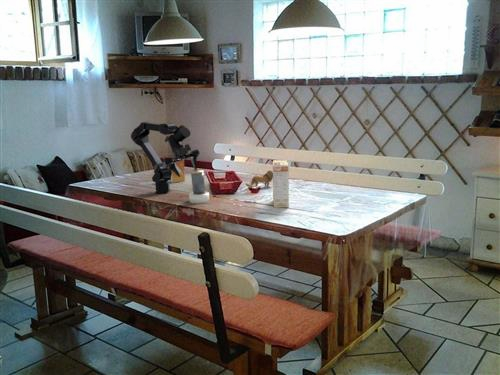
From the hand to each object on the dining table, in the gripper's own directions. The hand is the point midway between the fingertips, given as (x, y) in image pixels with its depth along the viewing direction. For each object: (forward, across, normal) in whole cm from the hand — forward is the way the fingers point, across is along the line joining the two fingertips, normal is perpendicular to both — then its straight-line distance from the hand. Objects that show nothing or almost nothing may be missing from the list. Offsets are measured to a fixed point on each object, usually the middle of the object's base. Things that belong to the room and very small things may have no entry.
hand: (188, 174), depth 246 cm
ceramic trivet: (+16, -1, -4) cm, 16 cm away
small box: (-7, +6, +45) cm, 46 cm away
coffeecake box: (+33, +29, -25) cm, 50 cm away
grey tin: (+12, 0, -6) cm, 13 cm away
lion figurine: (+19, +39, +10) cm, 44 cm away
